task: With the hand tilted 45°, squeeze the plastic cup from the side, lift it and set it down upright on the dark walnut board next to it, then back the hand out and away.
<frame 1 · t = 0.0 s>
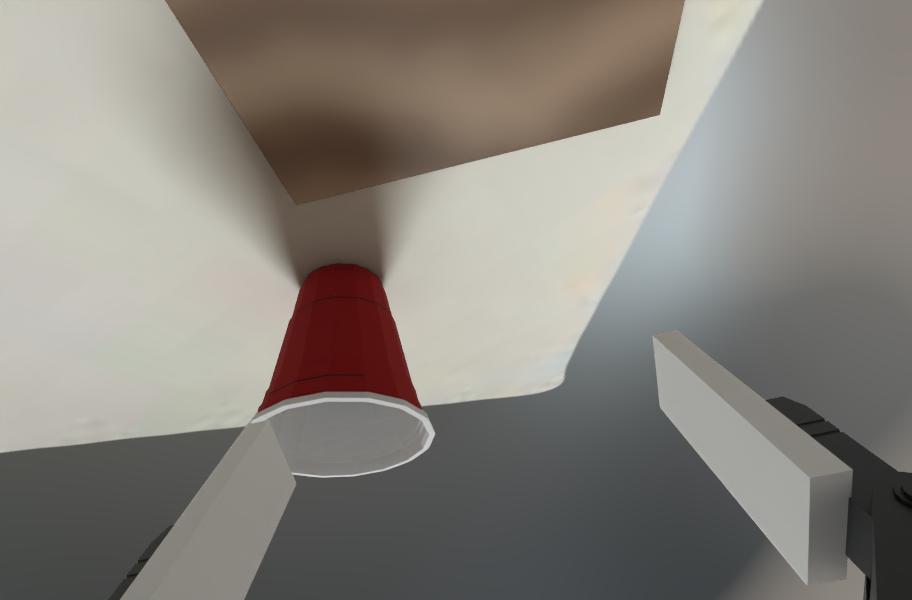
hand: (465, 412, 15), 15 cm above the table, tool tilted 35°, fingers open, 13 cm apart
plastic cup: (341, 284, 33), on the table
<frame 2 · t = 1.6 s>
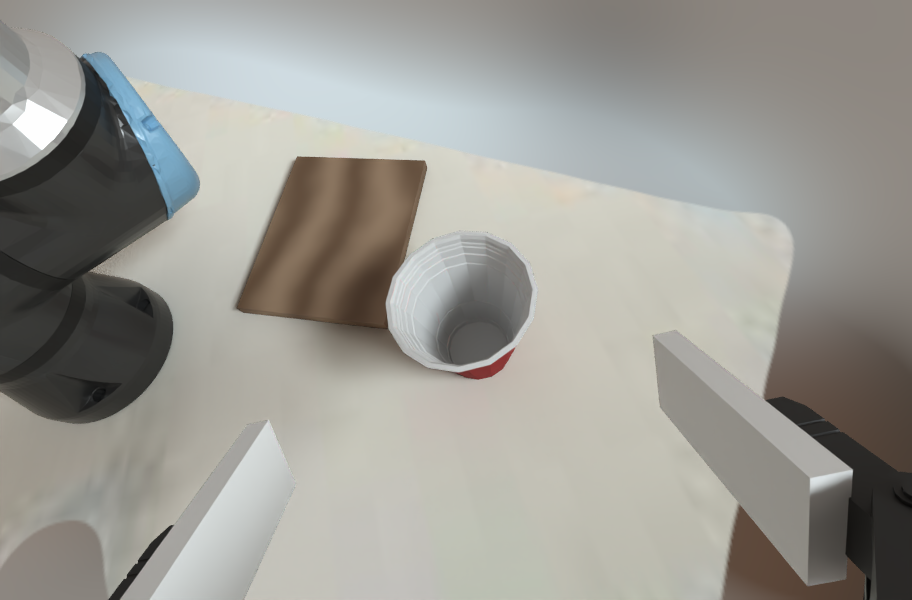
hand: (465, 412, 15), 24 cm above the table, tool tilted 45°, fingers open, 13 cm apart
plastic cup: (476, 350, 42), on the table
walnut board: (339, 236, 49), on the table
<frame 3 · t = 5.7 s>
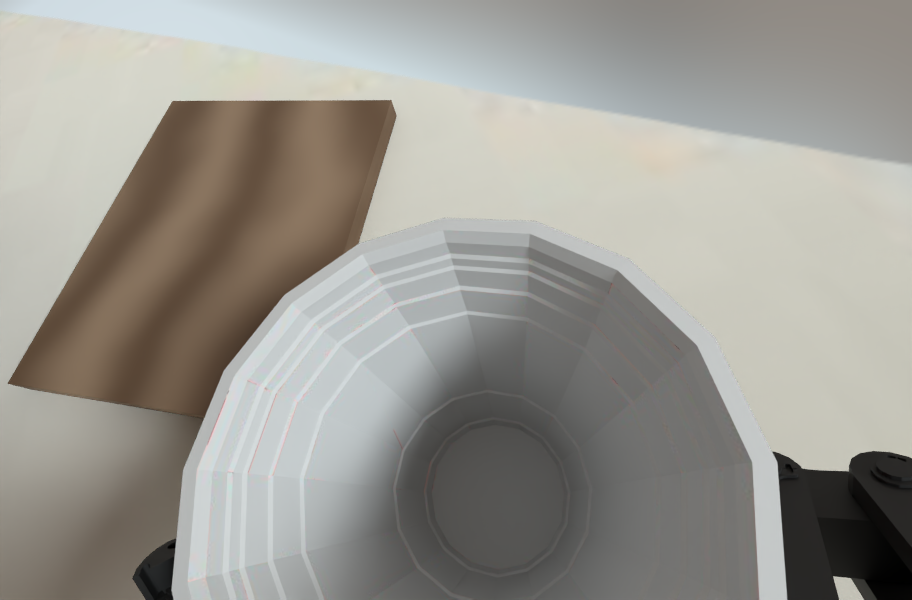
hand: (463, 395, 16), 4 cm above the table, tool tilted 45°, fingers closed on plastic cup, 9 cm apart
plastic cup: (491, 492, 19), on the table, touching gripper
walnut board: (230, 240, 26), on the table
when the fingers open (7 cm above the table, at t = 11.2 s): plastic cup drops 1 cm, resting on walnut board.
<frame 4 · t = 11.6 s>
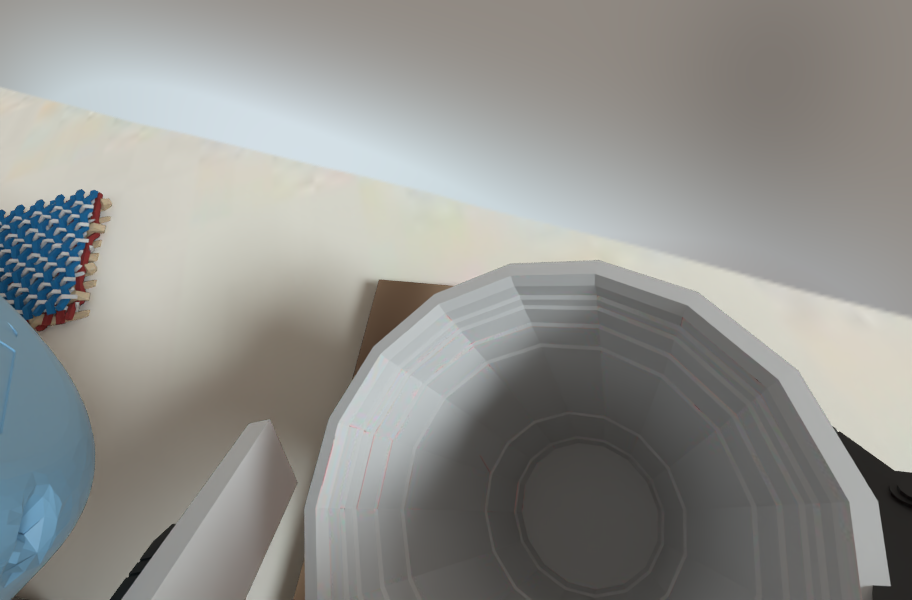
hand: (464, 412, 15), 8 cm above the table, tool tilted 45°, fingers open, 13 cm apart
plastic cup: (582, 511, 19), point 2 cm above the table, touching gripper, walnut board
woven mat: (44, 275, 32), on the table
walnut board: (497, 494, 21), on the table
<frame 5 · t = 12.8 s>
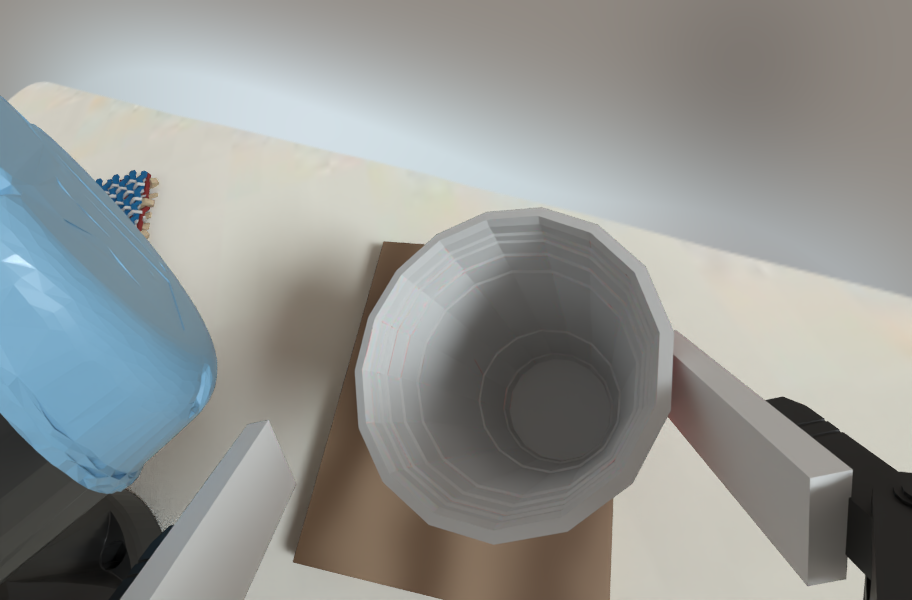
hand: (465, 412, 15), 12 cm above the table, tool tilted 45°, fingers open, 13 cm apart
plastic cup: (555, 408, 25), point 2 cm above the table, touching walnut board
woven mat: (103, 242, 38), on the table
walnut board: (473, 402, 27), on the table
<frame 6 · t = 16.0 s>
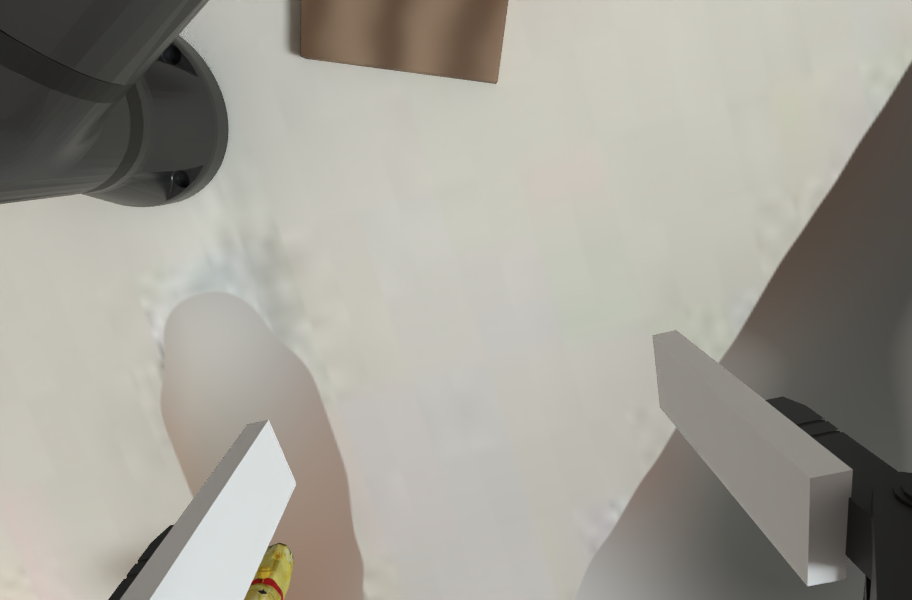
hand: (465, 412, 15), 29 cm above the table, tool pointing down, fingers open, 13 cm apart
chocolate bunny: (268, 562, 55), on the table
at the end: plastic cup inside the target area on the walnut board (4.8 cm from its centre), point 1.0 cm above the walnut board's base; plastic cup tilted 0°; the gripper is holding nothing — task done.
